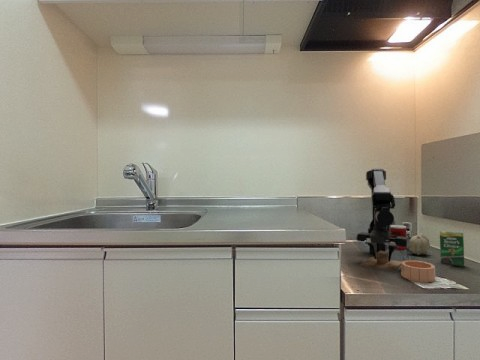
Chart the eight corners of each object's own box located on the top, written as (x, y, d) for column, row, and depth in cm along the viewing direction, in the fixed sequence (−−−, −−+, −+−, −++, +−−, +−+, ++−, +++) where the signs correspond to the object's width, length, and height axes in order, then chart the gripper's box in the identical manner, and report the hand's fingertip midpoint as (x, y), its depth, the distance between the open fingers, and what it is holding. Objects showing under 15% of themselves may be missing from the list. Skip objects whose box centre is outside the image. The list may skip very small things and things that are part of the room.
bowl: (398, 279, 105) (398, 265, 105) (405, 272, 112) (405, 258, 112) (432, 285, 98) (431, 270, 98) (437, 277, 106) (436, 263, 106)
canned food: (404, 246, 152) (404, 225, 152) (408, 250, 144) (407, 227, 144) (388, 245, 154) (388, 224, 154) (390, 249, 147) (390, 227, 147)
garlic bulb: (427, 253, 139) (427, 231, 139) (435, 257, 131) (434, 235, 131) (405, 252, 141) (405, 231, 141) (411, 256, 133) (410, 234, 133)
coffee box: (439, 263, 122) (439, 231, 122) (440, 262, 124) (440, 230, 124) (464, 267, 117) (463, 234, 117) (464, 265, 119) (464, 232, 119)
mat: (358, 266, 120) (358, 265, 120) (370, 259, 130) (370, 257, 130) (396, 273, 111) (396, 272, 110) (406, 265, 121) (406, 263, 121)
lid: (362, 265, 120) (361, 253, 120) (371, 258, 129) (371, 247, 129) (394, 271, 112) (394, 258, 112) (402, 263, 121) (402, 251, 121)
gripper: (351, 222, 120) (351, 260, 120) (402, 226, 108) (403, 269, 108) (361, 219, 129) (361, 255, 129) (409, 223, 116) (410, 262, 117)
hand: (382, 260), depth 120 cm, fingers open, 5 cm apart
